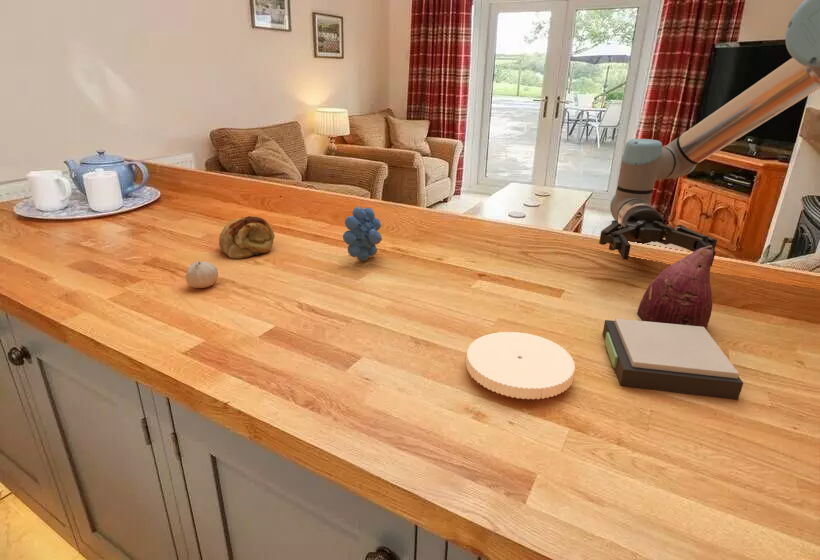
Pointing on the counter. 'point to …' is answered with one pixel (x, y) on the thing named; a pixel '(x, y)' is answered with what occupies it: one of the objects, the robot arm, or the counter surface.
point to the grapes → (362, 233)
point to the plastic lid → (520, 365)
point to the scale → (670, 358)
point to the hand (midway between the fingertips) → (668, 255)
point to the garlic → (201, 274)
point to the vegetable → (681, 292)
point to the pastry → (246, 237)
